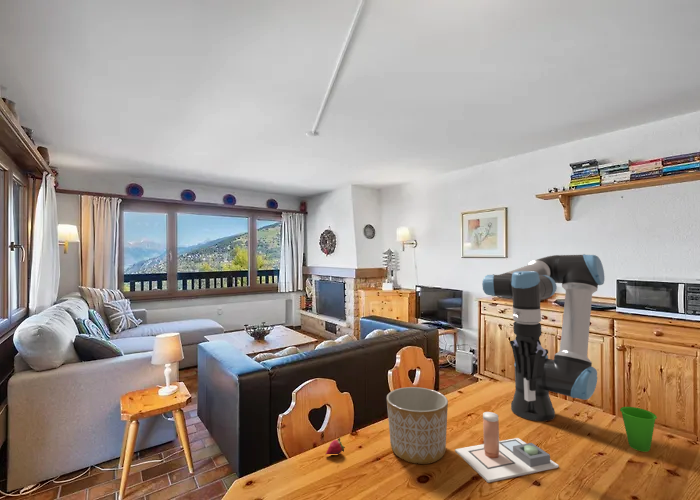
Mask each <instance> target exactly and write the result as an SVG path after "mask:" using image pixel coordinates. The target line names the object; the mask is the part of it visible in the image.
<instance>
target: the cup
mask: <svg viewBox="0 0 700 500" xmlns="http://www.w3.org/2000/svg"><path fill="white" fill-rule="evenodd" d="M619 411H620V412H621V415H622V420H623V425H624V429H625V432H626V433H625V434H626V439H627V442H628V445H629V447H630V448H632V449H633V450H636V451H637V452H638V451H639V452H644V453H645V452H646V453H647V452H650V450H651V446H652V441H653V440H652V439H653V435H654V429H655V424H656V423H655V422H656V420H657V419H658V416H657V415H656V414H655V413H653V412H652V411H649V410H646V409H645V408H644V409H643V408H640V407H634V406H622V407H620V409H619Z"/></svg>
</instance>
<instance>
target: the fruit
mask: <svg viewBox="0 0 700 500" xmlns="http://www.w3.org/2000/svg"><path fill="white" fill-rule="evenodd" d="M345 448H346V447H345V446H344V445H343V443H342V441H341V438H340V437H338V438H337V439H334V440H332V441H331V442H330V443H329V446H328V447H327V450H326V452H325V455H326V454H339V453H340V454H341V453H344V452H345ZM342 451H343V452H342ZM340 454H339V455H340Z"/></svg>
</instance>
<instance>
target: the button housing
mask: <svg viewBox="0 0 700 500" xmlns="http://www.w3.org/2000/svg"><path fill="white" fill-rule="evenodd" d="M526 443H527V442H526ZM526 445H531V446H534V447H536V448H537V449H538V454H537V455H532V456H530V455H529V454H527V453H526V452H524V446H526ZM513 454H514V455H515V456H516V457H518V458H519V459H520V460H522V461H523V462H524V463H526V464H527V465H528V466H530V467H535V466H539V465H544V464H549V463H550V460H551V455H550V454H549V453H548V452H546V451H545V450H543V449H542V448H540V447H539V446H537V445H536V444H534V443H533V442H528V443H527V444H522V445H517V446H513Z"/></svg>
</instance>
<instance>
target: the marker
mask: <svg viewBox="0 0 700 500" xmlns="http://www.w3.org/2000/svg"><path fill="white" fill-rule="evenodd" d="M482 426H483V427H482V428H483V444H484V450H485V455H486V456H487V457H489V458H498V457H499V441H500V427H499V415H498V414H497V413H495V412H492V411H485V412H483V413H482Z"/></svg>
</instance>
